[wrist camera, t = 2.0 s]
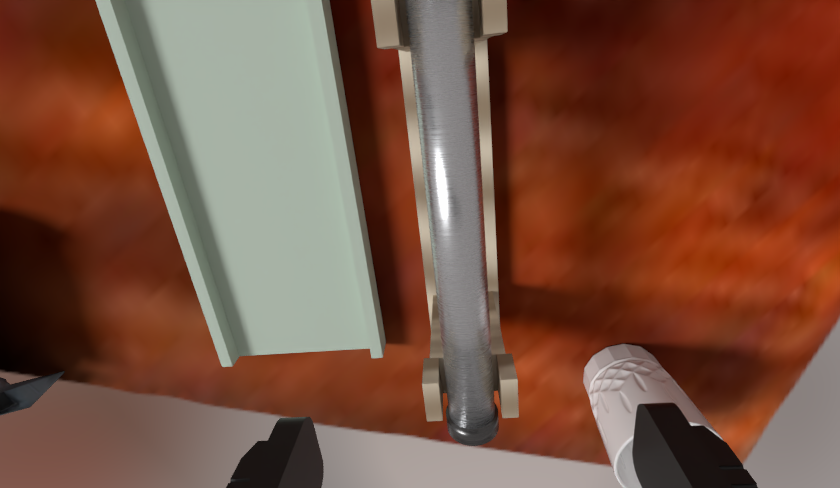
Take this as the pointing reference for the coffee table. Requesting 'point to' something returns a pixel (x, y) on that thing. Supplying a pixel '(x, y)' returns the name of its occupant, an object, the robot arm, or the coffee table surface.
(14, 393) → the grey mechanical device
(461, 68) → the steel rod
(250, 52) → the mat tray
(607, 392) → the white cup
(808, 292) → the coffee table surface
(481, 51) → the rack
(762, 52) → the coffee table surface
